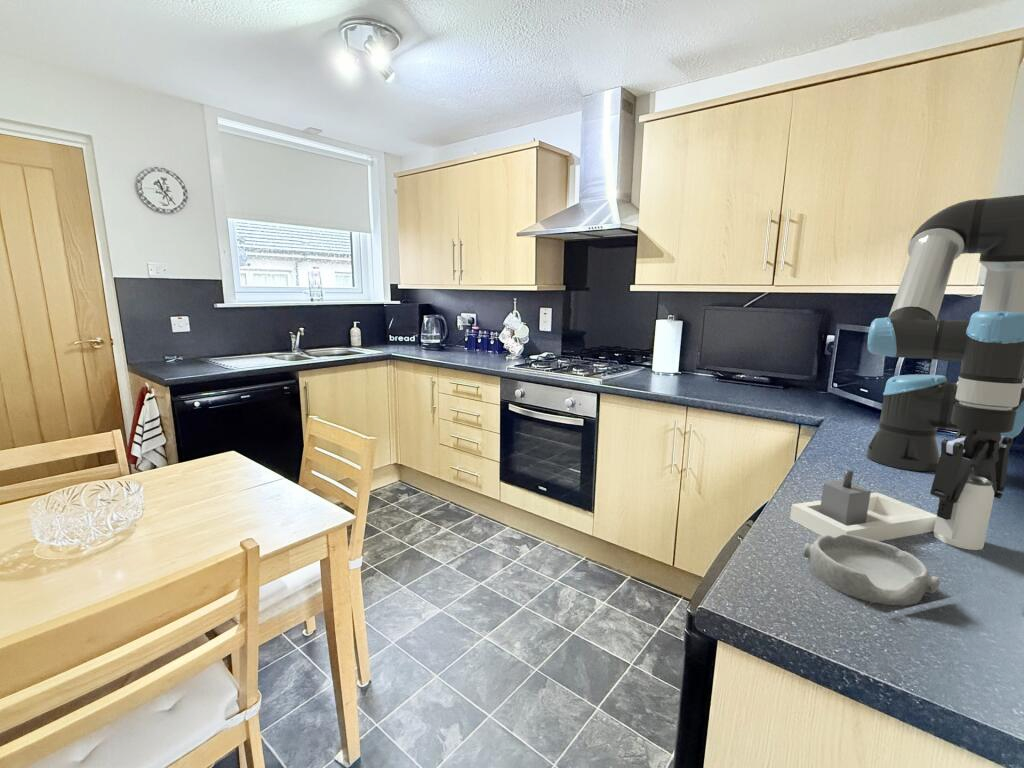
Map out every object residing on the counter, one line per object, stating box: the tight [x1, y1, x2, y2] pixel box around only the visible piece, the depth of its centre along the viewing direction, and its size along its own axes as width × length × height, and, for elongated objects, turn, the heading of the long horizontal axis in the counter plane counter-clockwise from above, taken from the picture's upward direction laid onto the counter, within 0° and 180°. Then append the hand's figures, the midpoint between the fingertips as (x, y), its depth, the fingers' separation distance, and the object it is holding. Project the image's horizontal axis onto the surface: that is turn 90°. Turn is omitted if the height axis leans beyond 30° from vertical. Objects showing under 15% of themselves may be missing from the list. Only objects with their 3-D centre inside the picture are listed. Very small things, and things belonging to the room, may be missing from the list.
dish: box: [802, 534, 940, 606], centre depth 72 cm, size 14×14×5 cm
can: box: [933, 474, 995, 551], centre depth 83 cm, size 6×6×12 cm
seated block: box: [820, 469, 872, 526], centre depth 87 cm, size 5×5×11 cm
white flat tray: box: [789, 491, 937, 542], centre depth 89 cm, size 22×11×4 cm, turn 107°
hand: (959, 532), depth 83 cm, fingers open, 7 cm apart
